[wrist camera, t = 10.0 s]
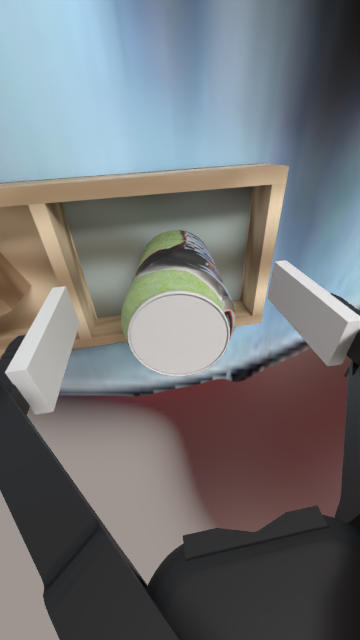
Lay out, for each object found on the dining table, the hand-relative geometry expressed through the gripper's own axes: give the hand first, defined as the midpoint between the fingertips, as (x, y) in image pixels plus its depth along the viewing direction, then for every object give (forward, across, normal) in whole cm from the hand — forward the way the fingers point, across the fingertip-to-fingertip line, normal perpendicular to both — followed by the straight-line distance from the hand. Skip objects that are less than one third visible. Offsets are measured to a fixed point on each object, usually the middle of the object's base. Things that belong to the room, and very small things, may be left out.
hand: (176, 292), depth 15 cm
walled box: (+8, -6, 0) cm, 10 cm away
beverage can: (+7, 0, 0) cm, 7 cm away
